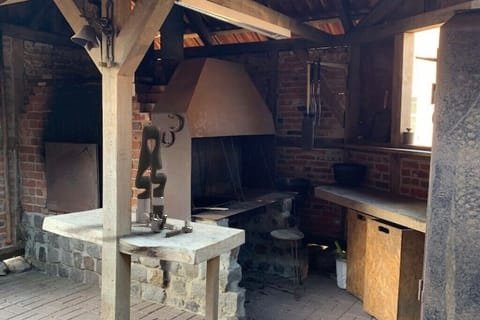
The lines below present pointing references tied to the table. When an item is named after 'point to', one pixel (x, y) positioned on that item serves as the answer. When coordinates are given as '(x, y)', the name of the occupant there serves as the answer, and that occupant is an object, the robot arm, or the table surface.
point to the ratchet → (181, 230)
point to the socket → (156, 225)
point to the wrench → (147, 222)
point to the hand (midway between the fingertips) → (157, 229)
